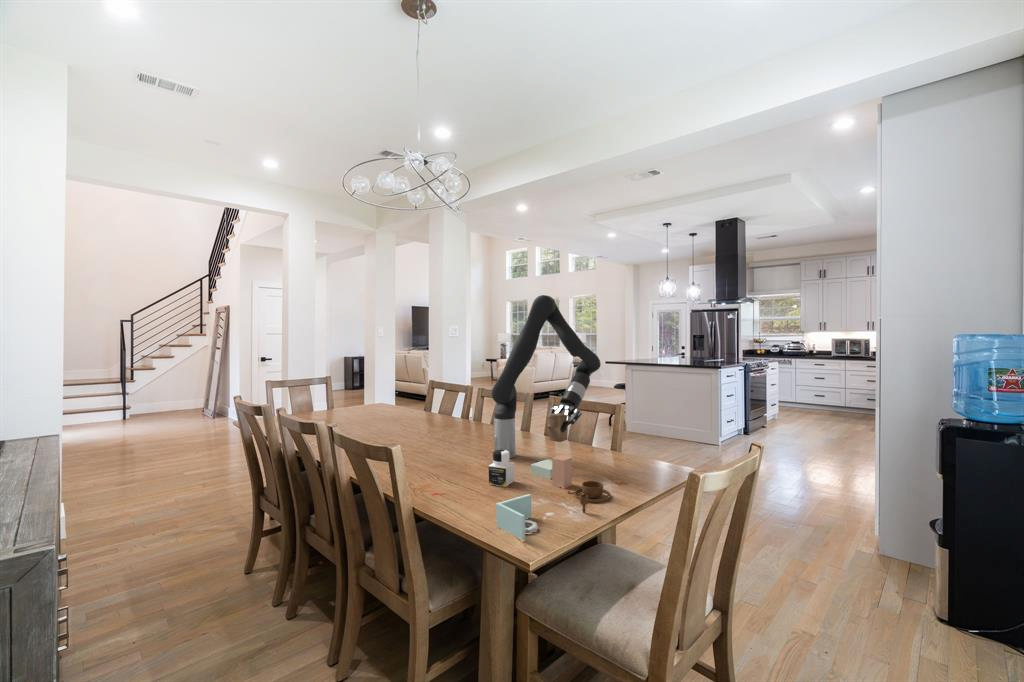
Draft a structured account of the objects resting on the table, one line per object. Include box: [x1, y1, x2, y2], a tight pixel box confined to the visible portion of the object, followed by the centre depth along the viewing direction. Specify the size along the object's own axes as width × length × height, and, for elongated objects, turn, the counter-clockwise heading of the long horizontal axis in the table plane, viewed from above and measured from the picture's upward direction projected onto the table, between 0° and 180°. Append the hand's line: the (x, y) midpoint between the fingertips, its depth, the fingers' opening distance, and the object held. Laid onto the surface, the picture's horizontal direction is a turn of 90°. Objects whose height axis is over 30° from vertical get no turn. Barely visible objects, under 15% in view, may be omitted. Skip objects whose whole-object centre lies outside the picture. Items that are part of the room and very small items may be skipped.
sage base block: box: [530, 459, 552, 480], centre depth 182 cm, size 10×10×4 cm
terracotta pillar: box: [551, 454, 573, 489], centre depth 167 cm, size 5×5×10 cm
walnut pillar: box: [548, 413, 569, 443], centre depth 180 cm, size 5×5×10 cm
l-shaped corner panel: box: [495, 493, 539, 541], centre depth 131 cm, size 12×12×8 cm
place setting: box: [567, 480, 612, 514], centre depth 153 cm, size 18×20×6 cm
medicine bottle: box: [488, 450, 515, 488], centre depth 171 cm, size 7×7×12 cm
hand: (555, 430), depth 179 cm, fingers closed on walnut pillar, 5 cm apart
